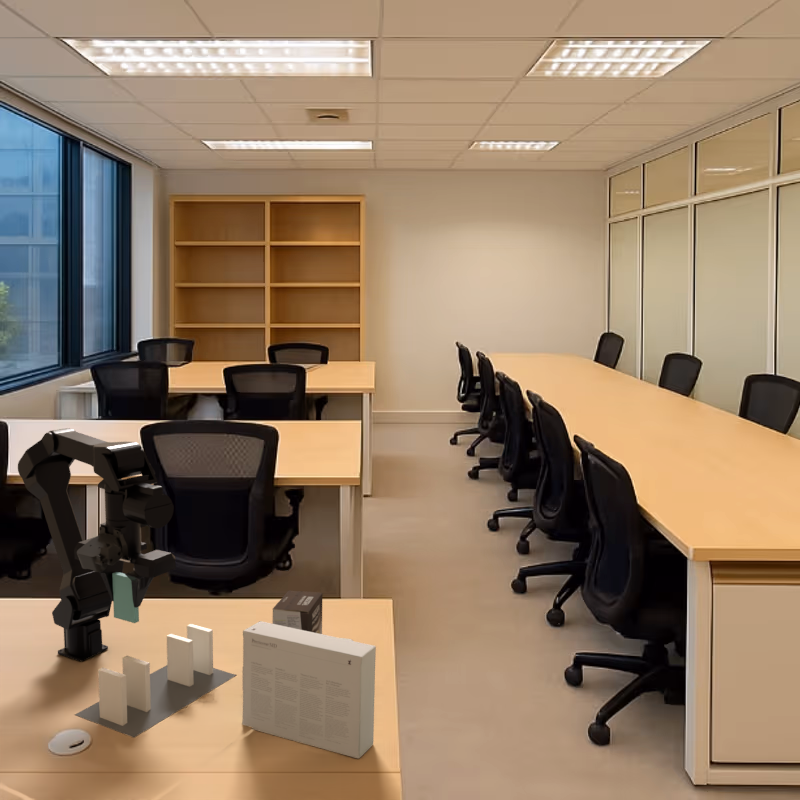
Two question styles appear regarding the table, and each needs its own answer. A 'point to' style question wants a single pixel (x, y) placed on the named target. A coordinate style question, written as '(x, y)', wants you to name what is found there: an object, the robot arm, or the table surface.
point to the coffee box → (300, 611)
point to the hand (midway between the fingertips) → (125, 603)
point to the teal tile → (124, 599)
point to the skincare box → (309, 687)
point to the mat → (160, 700)
